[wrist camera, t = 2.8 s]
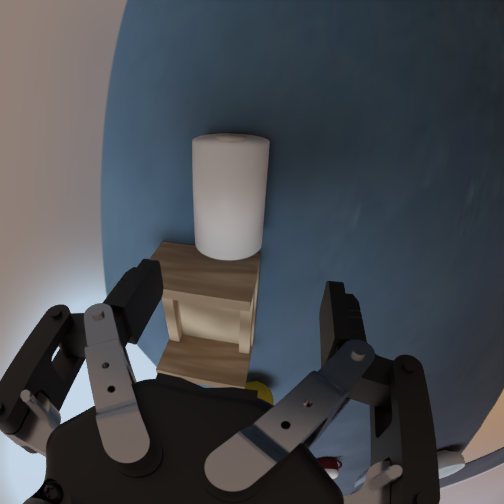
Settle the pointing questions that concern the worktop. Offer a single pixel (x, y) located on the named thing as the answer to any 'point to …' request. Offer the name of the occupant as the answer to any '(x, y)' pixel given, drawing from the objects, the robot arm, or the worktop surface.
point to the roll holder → (208, 315)
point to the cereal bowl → (449, 462)
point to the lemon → (260, 391)
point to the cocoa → (330, 466)
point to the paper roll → (229, 194)
